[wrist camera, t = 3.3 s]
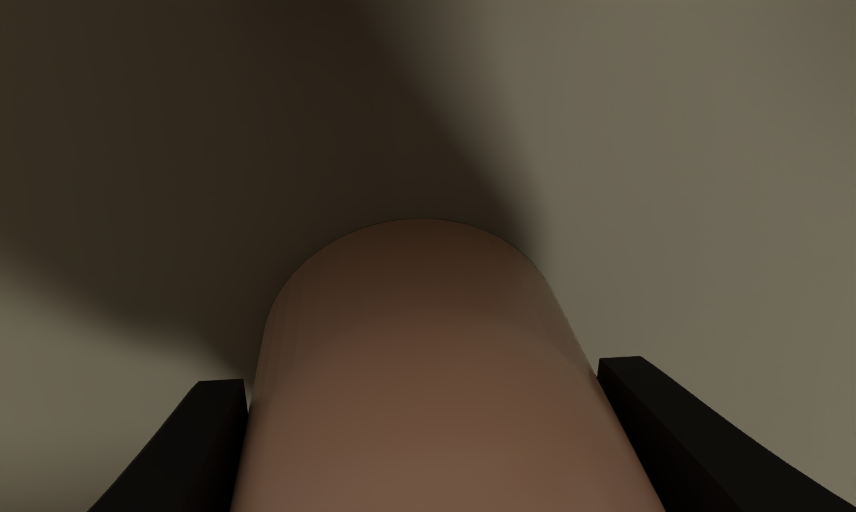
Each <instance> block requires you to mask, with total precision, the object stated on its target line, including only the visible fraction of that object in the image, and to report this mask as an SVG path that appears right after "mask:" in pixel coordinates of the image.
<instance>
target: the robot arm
mask: <svg viewBox="0 0 856 512" xmlns="http://www.w3.org/2000/svg"><path fill="white" fill-rule="evenodd" d="M597 379H598V381H599V383H600V385H601V387H602V389H603V391H604V392H605V394H606V396H607V398H608V400H609V402H610V404H611V406H612V408H613V410H614V412H615V414H616V416H617V418H618V420H619V422H620V424H621V425H622V427H623V429H624V431H625V433H626V435H627V437H628V439H629V441H630V443H631V445H632V447H633V449H634V451H635V453H636V455H637V457H638V458H639V460H640V462H641V464H642V466H643V468H644V470H645V472H646V474H647V476H648V478H649V480H650V482H651V484H652V486H653V488H654V490H655V491H656V493H657V495H658V497H659V499H660V501H661V503H662V505H663V507H664V509H665V511H666V512H856V507H855V506H853V505H852V504H850V503H848V502H847V501H845V500H843V499H842V498H840V497H839V496H837V495H835V494H834V493H832V492H831V491H829V490H828V489H826V488H824V487H823V486H821V485H820V484H818V483H817V482H815V481H814V480H812V479H811V478H809V477H808V476H806V475H805V474H803V473H802V472H800V471H798V470H797V469H795V468H794V467H792V466H791V465H789V464H788V463H786V462H785V461H783V460H782V459H781V458H779V457H778V456H776V455H775V454H773V453H772V452H770V451H769V450H768V449H766V448H765V447H763V446H762V445H760V444H759V443H758V442H756V441H755V440H753V439H752V438H751V437H749V436H748V435H746V434H745V433H744V432H742V431H741V430H740V429H738V428H737V427H735V426H734V425H733V424H731V423H730V422H729V421H727V420H726V419H725V418H723V417H722V416H721V415H719V414H718V413H717V412H715V411H714V410H712V409H711V408H710V407H709V406H707V405H706V404H705V403H703V402H702V401H701V400H699V399H698V398H697V397H695V396H694V395H693V394H691V393H690V392H689V391H687V390H686V389H685V388H683V387H682V386H681V385H679V384H678V383H677V382H676V381H674V380H673V379H672V378H670V377H669V376H668V375H666V374H665V373H664V372H662V371H661V370H660V369H658V368H657V367H655V366H654V365H653V364H651V363H650V362H648V361H647V360H645V359H644V358H643V357H641V356H632V357H614V358H600V359H599V366H598V374H597ZM247 418H248V410H247V402H246V395H245V388H244V381H243V379H229V380H212V381H198V382H197V383H196V384H195V385H194V386H193V387H192V388H191V390H190V391H189V392H188V393H187V395H186V396H185V397H184V398H183V400H182V401H181V402H180V403H179V405H178V406H177V407H176V409H175V410H174V411H173V412H172V414H171V415H170V416H169V417H168V419H167V420H166V421H165V422H164V424H163V425H162V426H161V427H160V429H159V430H158V431H157V432H156V433H155V435H154V436H153V437H152V438H151V440H150V441H149V442H148V443H147V444H146V446H145V447H144V448H143V449H142V450H141V452H140V453H139V454H138V455H137V456H136V457H135V459H134V460H133V461H132V462H131V463H130V464H129V465H128V467H127V468H126V469H125V470H124V471H123V472H122V474H121V475H120V476H119V477H118V478H117V479H116V481H115V482H114V483H113V484H112V485H111V486H110V487H109V489H108V490H107V491H106V492H105V493H104V494H103V495H102V496H101V497H100V499H99V500H98V501H97V502H96V503H95V504H94V505H93V506H92V507H91V508H90V509H89V510H88V511H87V512H229V511H230V506H231V501H232V496H233V490H234V485H235V480H236V475H237V470H238V464H239V459H240V454H241V449H242V444H243V438H244V433H245V428H246V423H247Z"/></svg>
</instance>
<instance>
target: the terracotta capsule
mask: <svg viewBox="0 0 856 512" xmlns="http://www.w3.org/2000/svg"><path fill="white" fill-rule="evenodd" d="M229 512H666V511H665V509H664V507H663V505H662V503H661V501H660V499H659V497H658V495H657V493H656V491H655V490H654V488H653V486H652V484H651V482H650V480H649V478H648V476H647V474H646V472H645V470H644V468H643V466H642V464H641V462H640V460H639V458H638V457H637V455H636V453H635V451H634V449H633V447H632V445H631V443H630V441H629V439H628V437H627V435H626V433H625V431H624V429H623V427H622V425H621V424H620V422H619V420H618V418H617V416H616V414H615V412H614V410H613V408H612V406H611V404H610V402H609V400H608V398H607V396H606V394H605V392H604V391H603V389H602V387H601V385H600V383H599V381H598V379H597V377H596V375H595V373H594V371H593V369H592V367H591V365H590V363H589V361H588V359H587V358H586V356H585V354H584V352H583V350H582V348H581V346H580V344H579V342H578V340H577V338H576V336H575V334H574V332H573V330H572V328H571V326H570V325H569V323H568V321H567V319H566V317H565V315H564V313H563V311H562V309H561V307H560V305H559V303H558V301H557V299H556V297H555V295H554V293H553V292H552V290H551V288H550V286H549V285H548V283H547V281H546V280H545V278H544V276H543V275H542V274H541V273H540V271H539V270H538V269H537V268H536V266H535V265H534V264H533V263H532V262H531V261H530V260H529V259H528V258H527V257H526V256H525V255H523V254H522V253H521V252H520V251H519V250H518V249H516V248H515V247H513V246H512V245H510V244H509V243H507V242H506V241H504V240H503V239H501V238H499V237H497V236H495V235H493V234H491V233H489V232H487V231H484V230H481V229H478V228H475V227H473V226H470V225H467V224H462V223H457V222H452V221H447V220H438V219H425V218H423V219H402V220H396V221H390V222H384V223H379V224H376V225H372V226H369V227H365V228H362V229H359V230H357V231H354V232H352V233H350V234H347V235H345V236H343V237H340V238H339V239H337V240H335V241H334V242H332V243H330V244H328V245H327V246H325V247H323V248H322V249H320V250H319V251H318V252H317V253H315V254H314V255H313V256H311V257H310V258H309V259H308V260H306V261H305V262H304V263H303V264H302V265H301V266H300V267H299V268H298V269H297V270H296V271H295V272H294V273H293V274H292V276H291V277H290V278H289V280H288V281H287V282H286V284H285V285H284V286H283V288H282V289H281V290H280V292H279V294H278V296H277V298H276V299H275V301H274V303H273V305H272V307H271V310H270V313H269V315H268V318H267V321H266V324H265V329H264V334H263V340H262V345H261V350H260V355H259V360H258V366H257V371H256V376H255V381H254V386H253V392H252V397H251V402H250V407H249V412H248V418H247V423H246V428H245V433H244V438H243V444H242V449H241V454H240V459H239V464H238V470H237V475H236V480H235V485H234V490H233V496H232V501H231V506H230V511H229Z"/></svg>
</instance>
